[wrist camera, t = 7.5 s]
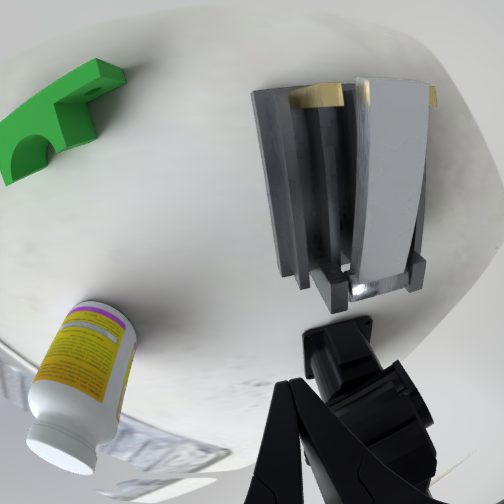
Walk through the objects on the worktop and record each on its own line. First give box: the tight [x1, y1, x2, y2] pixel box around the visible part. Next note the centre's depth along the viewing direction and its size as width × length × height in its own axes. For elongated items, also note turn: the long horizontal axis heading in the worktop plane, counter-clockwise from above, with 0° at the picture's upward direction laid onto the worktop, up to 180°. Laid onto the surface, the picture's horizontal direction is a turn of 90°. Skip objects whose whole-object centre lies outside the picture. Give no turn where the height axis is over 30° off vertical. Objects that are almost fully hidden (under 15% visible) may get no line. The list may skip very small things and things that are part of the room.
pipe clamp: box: [0, 58, 127, 186], centre depth 13 cm, size 11×4×5 cm, turn 106°
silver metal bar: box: [343, 77, 429, 302], centre depth 13 cm, size 12×4×2 cm, turn 9°
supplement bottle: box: [26, 301, 137, 475], centre depth 16 cm, size 7×7×13 cm
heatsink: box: [251, 82, 437, 314], centre depth 15 cm, size 12×10×7 cm
